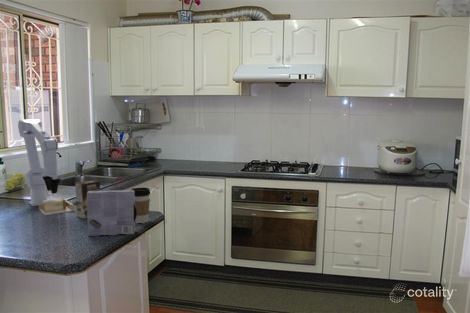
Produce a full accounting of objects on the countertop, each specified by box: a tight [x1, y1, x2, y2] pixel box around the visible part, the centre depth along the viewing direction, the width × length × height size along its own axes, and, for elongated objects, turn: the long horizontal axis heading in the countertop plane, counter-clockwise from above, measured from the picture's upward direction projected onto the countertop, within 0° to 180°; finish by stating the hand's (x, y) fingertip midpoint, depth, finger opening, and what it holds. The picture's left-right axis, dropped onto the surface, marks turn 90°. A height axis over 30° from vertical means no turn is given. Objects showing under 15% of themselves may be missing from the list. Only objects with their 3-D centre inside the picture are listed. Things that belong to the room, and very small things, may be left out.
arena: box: [38, 199, 75, 216], centre depth 200 cm, size 12×13×3 cm
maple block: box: [43, 197, 66, 212], centre depth 199 cm, size 5×9×4 cm, turn 128°
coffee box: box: [74, 179, 101, 219], centre depth 190 cm, size 9×6×16 cm
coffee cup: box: [131, 187, 151, 224], centre depth 180 cm, size 8×8×15 cm
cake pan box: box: [86, 189, 137, 237], centre depth 164 cm, size 19×5×18 cm, turn 99°
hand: (52, 191), depth 199 cm, fingers open, 7 cm apart
